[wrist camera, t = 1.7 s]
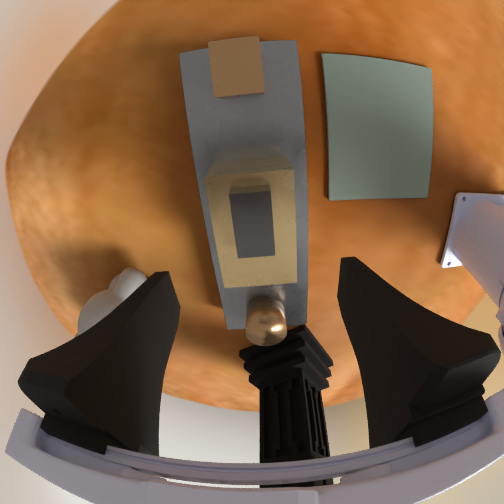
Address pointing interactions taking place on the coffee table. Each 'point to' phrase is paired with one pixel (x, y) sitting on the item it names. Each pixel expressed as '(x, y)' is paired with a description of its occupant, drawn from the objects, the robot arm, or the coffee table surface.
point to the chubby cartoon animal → (109, 298)
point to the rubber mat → (377, 127)
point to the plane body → (251, 157)
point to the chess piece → (291, 399)
